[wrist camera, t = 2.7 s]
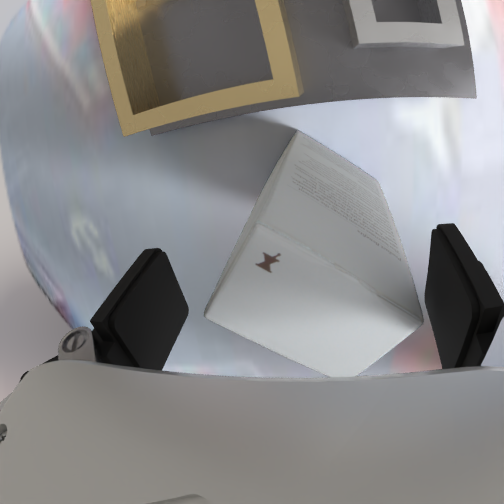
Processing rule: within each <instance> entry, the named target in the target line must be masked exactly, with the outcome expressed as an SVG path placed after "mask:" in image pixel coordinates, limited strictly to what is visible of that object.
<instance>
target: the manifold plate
mask: <svg viewBox="0 0 504 504" xmlns="http://www.w3.org/2000/svg"><path fill="white" fill-rule="evenodd" d="M91 5H92V10H93V15H94V20H95V25H96V30H97V35H98V40H99V44H100V49H101V53H102V57H103V62H104V66H105V70H106V74H107V78H108V82H109V86H110V90H111V93H112V97H113V101H114V105H115V108H116V112H117V115H118V119H119V122H120V126H121V129H122V133H123V136H124V137H125V136H128V135H131V134H134V133H137V132H140V131H144V130H147V129H150V132H151V135H152V136H153V135H156V134H160V133H164V132H167V131H171V130H175V129H179V128H183V127H187V126H191V125H195V124H200V123H204V122H208V121H213V120H217V119H222V118H227V117H232V116H237V115H242V114H248V113H253V112H259V111H265V110H271V109H277V108H284V107H291V106H298V105H306V104H314V103H323V102H333V101H343V100H356V99H371V98H392V97H456V98H476V99H477V96H476V85H475V75H474V67H473V60H472V53H471V47H470V41H469V35H468V30H467V25H466V20H465V16H464V11H463V7H462V3H461V0H91Z"/></svg>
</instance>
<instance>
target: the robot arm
mask: <svg viewBox="0 0 504 504" xmlns="http://www.w3.org/2000/svg"><path fill="white" fill-rule="evenodd" d="M425 304H426V308H427V311H428V315H429V318H430V321H431V325H432V329H433V332H434V336H435V340H436V344H437V348H438V352H439V356H440V360H441V364H442V368H443V369H438V370H430V371H420V372H410V373H398V374H384V375H370V376H353V377H328V378H262V377H235V376H217V375H203V374H191V373H179V372H169V371H162V369H163V367H164V364H165V362H166V360H167V358H168V356H169V354H170V352H171V350H172V347H173V345H174V343H175V341H176V339H177V337H178V335H179V333H180V331H181V328H182V326H183V324H184V322H185V320H186V318H187V316H188V312H189V309H188V305H187V303H186V300H185V298H184V296H183V293H182V291H181V289H180V286H179V284H178V281H177V279H176V277H175V274H174V272H173V269H172V267H171V264H170V262H169V259H168V257H167V255H166V253H165V252H162V250H161V249H159V248H154V249H145V250H144V251H143V252H142V253H141V255H140V256H139V257H138V258H137V260H136V261H135V262H134V263H133V265H132V266H131V267H130V268H129V270H128V271H127V272H126V273H125V275H124V276H123V277H122V279H121V280H120V281H119V283H118V284H117V285H116V286H115V288H114V289H113V290H112V292H111V293H110V294H109V296H108V297H107V298H106V300H105V301H104V302H103V304H102V305H101V306H100V308H99V309H98V310H97V312H96V313H95V315H94V316H93V317H92V319H91V320H90V322H91V324H92V325H93V327H94V329H93V331H91V329H89V328H88V327H78V328H75V329H73V330H71V331H70V332H68V333H67V334H66V335H65V336H64V337H63V338H62V340H61V342H60V343H59V348H58V356H56V357H54V358H52V359H50V360H48V361H46V362H45V363H43V364H41V365H39V366H36V367H35V368H33V369H31V370H30V371H27V372H25V373H24V374H23V376H22V377H21V380H20V382H19V384H18V385H17V387H16V388H15V389H14V391H13V392H12V393H11V394H10V395H8V396H7V397H6V398H5V399H4V400H3V401H1V402H0V504H504V302H503V300H502V298H501V297H500V295H499V293H498V291H497V289H496V287H495V285H494V284H493V282H492V280H491V278H490V276H489V275H488V273H487V271H486V270H485V268H484V266H483V264H482V263H481V262H480V261H478V260H477V258H476V257H475V255H474V253H473V252H472V250H471V248H470V247H469V245H468V244H467V242H466V241H465V239H464V237H463V236H462V234H461V233H460V231H459V230H458V228H457V227H456V225H455V224H454V223H451V224H438V225H437V229H433V230H432V235H431V246H430V256H429V265H428V274H427V281H426V289H425Z"/></svg>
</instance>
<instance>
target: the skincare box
mask: <svg viewBox="0 0 504 504" xmlns="http://www.w3.org/2000/svg"><path fill="white" fill-rule="evenodd" d="M204 317H205V318H206V319H208V320H210V321H212V322H214V323H216V324H218V325H220V326H222V327H224V328H226V329H228V330H230V331H232V332H234V333H236V334H238V335H241V336H243V337H245V338H247V339H249V340H251V341H253V342H255V343H257V344H259V345H261V346H263V347H265V348H267V349H269V350H271V351H273V352H276V353H278V354H280V355H282V356H284V357H286V358H288V359H290V360H293V361H295V362H297V363H299V364H301V365H304V366H306V367H308V368H311V369H313V370H315V371H317V372H319V373H322V374H324V375H326V376H329V377H353V376H357V375H359V374H360V373H361V372H363V371H364V370H365V369H367V368H368V367H369V366H370V365H372V364H373V363H374V362H376V361H377V360H378V359H380V358H381V357H382V356H383V355H385V354H386V353H387V352H389V351H390V350H391V349H392V348H394V347H395V346H396V345H397V344H399V343H400V342H401V341H403V340H404V339H405V338H406V337H408V336H409V335H410V334H411V333H413V332H414V331H415V330H416V329H418V328H419V327H420V326H421V325H422V324H423V322H424V319H423V315H422V310H421V307H420V303H419V300H418V296H417V292H416V289H415V285H414V282H413V278H412V275H411V272H410V268H409V265H408V262H407V259H406V256H405V253H404V250H403V246H402V243H401V240H400V237H399V234H398V231H397V229H396V226H395V223H394V220H393V217H392V215H391V212H390V210H389V207H388V204H387V202H386V199H385V196H384V194H383V191H382V189H381V186H380V184H379V182H378V181H377V180H376V179H374V178H373V177H371V176H370V175H368V174H367V173H366V172H364V171H363V170H361V169H360V168H358V167H357V166H355V165H354V164H352V163H350V162H349V161H347V160H346V159H344V158H343V157H341V156H340V155H338V154H336V153H335V152H333V151H332V150H330V149H329V148H327V147H325V146H324V145H322V144H320V143H319V142H317V141H315V140H314V139H312V138H310V137H309V136H307V135H305V134H303V133H302V132H300V131H296V133H295V134H294V136H293V138H292V139H291V141H290V143H289V144H288V146H287V147H286V149H285V151H284V152H283V154H282V156H281V157H280V159H279V161H278V162H277V164H276V166H275V168H274V169H273V171H272V173H271V175H270V177H269V178H268V180H267V182H266V184H265V186H264V188H263V190H262V192H261V194H260V196H259V198H258V200H257V202H256V204H255V206H254V208H253V210H252V212H251V214H250V216H249V218H248V220H247V222H246V225H245V227H244V229H243V231H242V233H241V235H240V237H239V239H238V241H237V243H236V245H235V247H234V249H233V252H232V254H231V256H230V258H229V260H228V262H227V264H226V266H225V268H224V270H223V272H222V275H221V277H220V279H219V281H218V283H217V285H216V287H215V289H214V291H213V293H212V296H211V298H210V300H209V302H208V304H207V306H206V308H205V311H204Z"/></svg>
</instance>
